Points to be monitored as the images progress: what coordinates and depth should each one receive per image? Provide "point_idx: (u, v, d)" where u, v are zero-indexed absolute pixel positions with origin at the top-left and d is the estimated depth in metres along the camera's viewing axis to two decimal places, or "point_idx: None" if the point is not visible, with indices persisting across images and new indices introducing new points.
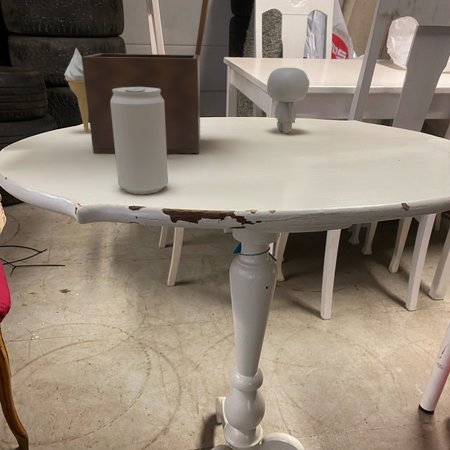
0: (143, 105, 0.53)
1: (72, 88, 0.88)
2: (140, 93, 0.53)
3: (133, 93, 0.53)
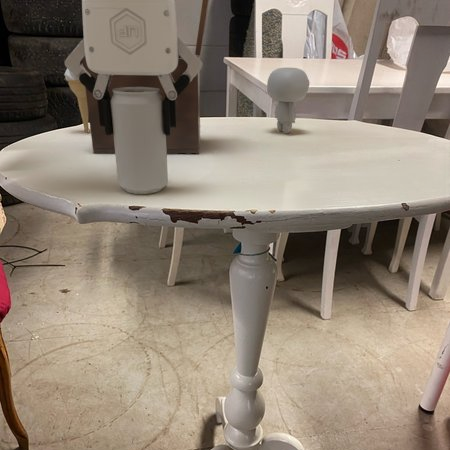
0: (143, 105, 0.53)
1: (72, 88, 0.88)
2: (140, 93, 0.53)
3: (133, 93, 0.53)
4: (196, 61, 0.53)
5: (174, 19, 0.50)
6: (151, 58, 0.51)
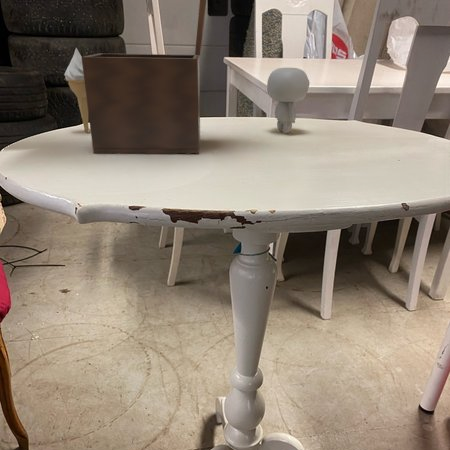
0: None
1: (72, 88, 0.88)
2: None
3: None
4: None
5: None
6: None
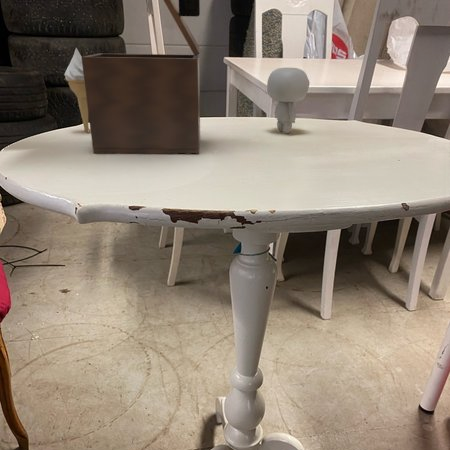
0: None
1: (72, 88, 0.88)
2: None
3: None
4: None
5: None
6: None
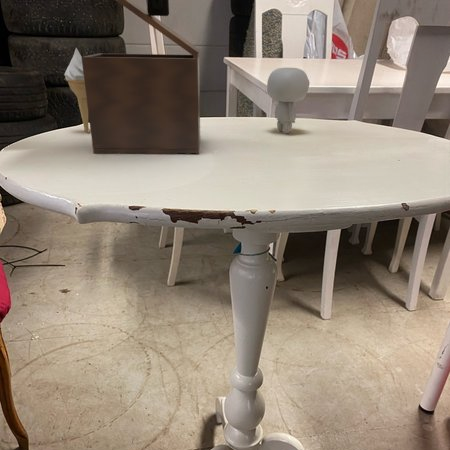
0: None
1: (72, 88, 0.88)
2: None
3: None
4: None
5: None
6: None
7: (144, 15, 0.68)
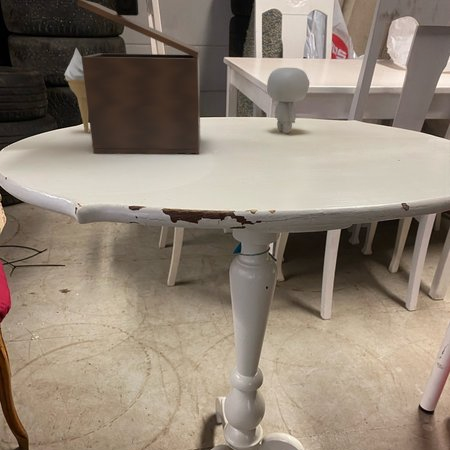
0: None
1: (72, 88, 0.88)
2: None
3: None
4: None
5: None
6: None
7: (139, 27, 0.69)
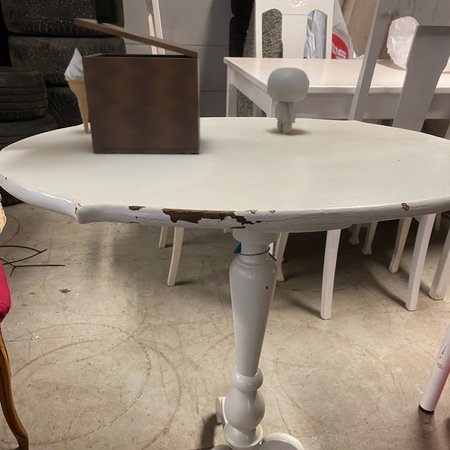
0: None
1: (72, 88, 0.88)
2: None
3: None
4: None
5: None
6: None
7: (137, 37, 0.70)
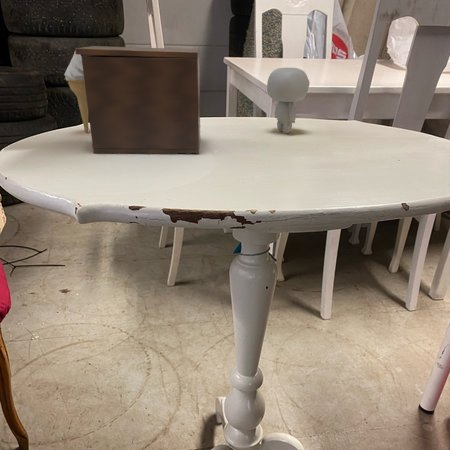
0: None
1: (72, 88, 0.88)
2: None
3: None
4: None
5: None
6: None
7: (136, 51, 0.71)
